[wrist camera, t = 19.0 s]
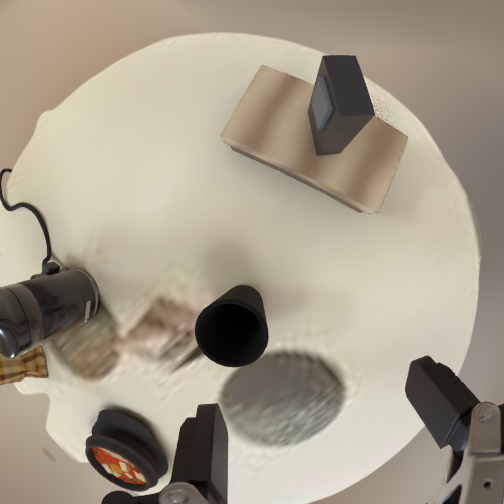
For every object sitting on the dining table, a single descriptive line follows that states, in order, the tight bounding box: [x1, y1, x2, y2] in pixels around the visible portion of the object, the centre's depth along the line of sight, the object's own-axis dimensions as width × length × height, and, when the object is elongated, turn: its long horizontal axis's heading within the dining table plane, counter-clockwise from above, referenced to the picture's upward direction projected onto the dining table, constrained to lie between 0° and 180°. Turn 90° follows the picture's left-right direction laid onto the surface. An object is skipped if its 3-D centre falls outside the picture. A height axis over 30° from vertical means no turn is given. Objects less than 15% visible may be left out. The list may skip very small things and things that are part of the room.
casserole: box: [85, 410, 168, 492], centre depth 41 cm, size 25×19×8 cm
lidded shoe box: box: [221, 65, 408, 215], centre depth 33 cm, size 20×11×8 cm, turn 64°
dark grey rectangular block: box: [307, 55, 375, 156], centre depth 23 cm, size 3×6×12 cm, turn 9°
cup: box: [195, 285, 269, 367], centre depth 34 cm, size 8×8×12 cm
